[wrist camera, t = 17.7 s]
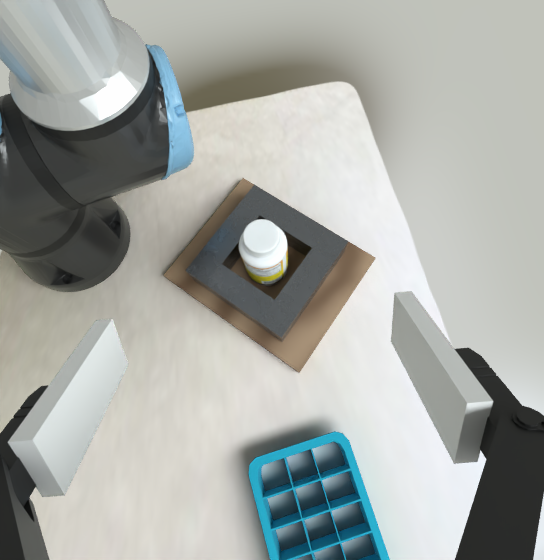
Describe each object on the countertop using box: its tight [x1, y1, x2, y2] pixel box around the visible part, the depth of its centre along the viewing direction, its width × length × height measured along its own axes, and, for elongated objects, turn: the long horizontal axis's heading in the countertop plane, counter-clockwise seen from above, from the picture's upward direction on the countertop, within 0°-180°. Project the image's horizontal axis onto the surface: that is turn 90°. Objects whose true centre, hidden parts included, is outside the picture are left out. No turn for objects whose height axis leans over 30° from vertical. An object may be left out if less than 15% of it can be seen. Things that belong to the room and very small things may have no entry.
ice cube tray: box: [249, 432, 390, 560], centre depth 39 cm, size 12×20×3 cm, turn 17°
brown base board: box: [164, 178, 375, 372], centre depth 49 cm, size 22×18×1 cm
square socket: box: [185, 185, 348, 342], centre depth 47 cm, size 14×14×4 cm
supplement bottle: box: [239, 219, 288, 286], centre depth 44 cm, size 6×6×10 cm
